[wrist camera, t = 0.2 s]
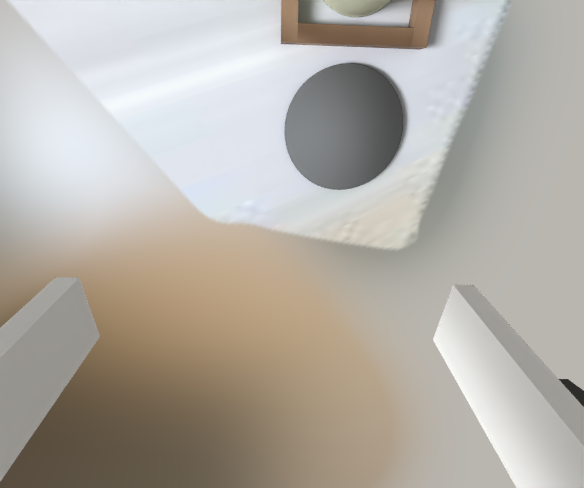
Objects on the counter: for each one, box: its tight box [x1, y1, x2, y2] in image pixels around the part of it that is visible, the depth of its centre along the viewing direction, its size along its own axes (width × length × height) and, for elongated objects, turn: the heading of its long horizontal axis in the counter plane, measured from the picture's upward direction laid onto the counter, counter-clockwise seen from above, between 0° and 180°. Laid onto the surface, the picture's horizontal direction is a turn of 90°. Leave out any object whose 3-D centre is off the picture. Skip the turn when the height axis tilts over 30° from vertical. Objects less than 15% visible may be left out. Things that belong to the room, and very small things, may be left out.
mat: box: [285, 64, 403, 190], centre depth 34 cm, size 13×13×1 cm
